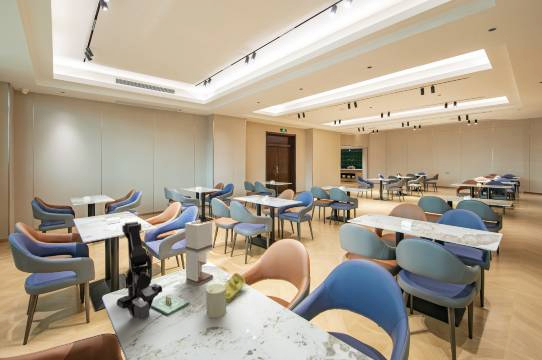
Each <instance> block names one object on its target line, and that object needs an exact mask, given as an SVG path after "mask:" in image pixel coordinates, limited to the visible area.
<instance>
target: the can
mask: <svg viewBox="0 0 542 360" xmlns="http://www.w3.org/2000/svg"><path fill="white" fill-rule="evenodd" d="M224 285H225V284H219V283H218V284H216V283H215V284H211V285H209V286H207V287H206V289H205V290H206V316H207V317H208V318H213V319H216V318H221V317H224V316H225V315H226V314H227V302H226V287H225V286H224Z"/></svg>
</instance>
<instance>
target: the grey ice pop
mask: <svg viewBox="0 0 542 360" xmlns="http://www.w3.org/2000/svg"><path fill="white" fill-rule="evenodd" d="M133 304H135V306H134V314H135V315H134V318H136V319H138V320H140V321H143V320H144V319H147V318H149V317H150V310H149V303H147V302H144V301H143V299H140V300H139V299H138V300H137V301H136V300H133Z"/></svg>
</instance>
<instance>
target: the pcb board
mask: <svg viewBox="0 0 542 360" xmlns="http://www.w3.org/2000/svg"><path fill="white" fill-rule="evenodd" d="M187 305H190V302H189V301H188V300H186V299H183V298H181V297H178V296H177V295H176V296H175V295H174V294H171V293H167V294H165V295H163V296H161V297H158V298H156V299H155V300H154V299H153V302H152V305H151V308H153V309H155V310H156V311H159V312H160V313H163V314H164V315H166V316H169V315H172V314H173V313H175V312H177V311H179V310H181V309H182V308H185V307H186V306H187Z"/></svg>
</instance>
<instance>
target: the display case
mask: <svg viewBox="0 0 542 360" xmlns="http://www.w3.org/2000/svg"><path fill="white" fill-rule="evenodd" d="M184 239H185V240H184V241H185V277H186V278H185V279H186V280H185V282H188V283H190V284H193V285H195V286H201V285H202V284H204V283H206V282H208V281H210V280H212V279H214V275H213V274H210V273H208V272H205V271H203V267H202V266H205V265H206V264H207V253H208V252H211V251H212V250H213V222H212V221H208V222H204V223H202V220H201V219H198V220H194V221H189V222H185V223H184Z"/></svg>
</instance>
